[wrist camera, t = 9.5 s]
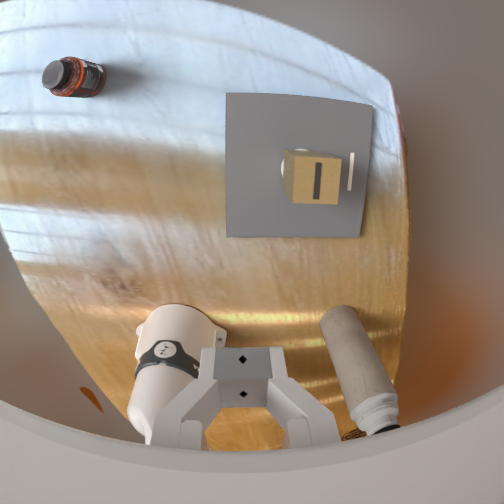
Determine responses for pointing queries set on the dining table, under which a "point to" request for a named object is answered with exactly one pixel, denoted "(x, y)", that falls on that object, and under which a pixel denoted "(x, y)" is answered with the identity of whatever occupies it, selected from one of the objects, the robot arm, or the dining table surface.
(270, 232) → the stud plate
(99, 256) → the dining table surface
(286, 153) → the brushed gold block
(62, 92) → the supplement bottle
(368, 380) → the thermos bottle
